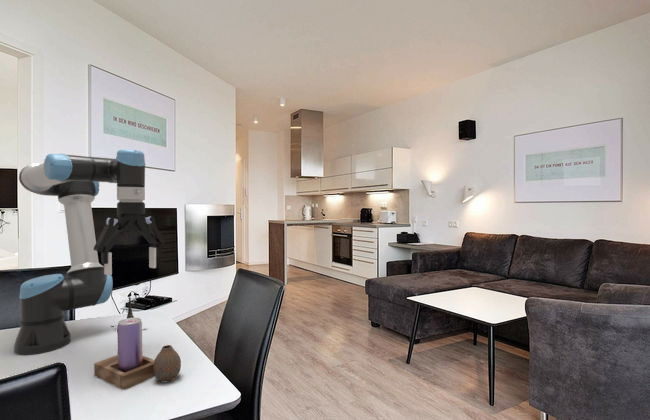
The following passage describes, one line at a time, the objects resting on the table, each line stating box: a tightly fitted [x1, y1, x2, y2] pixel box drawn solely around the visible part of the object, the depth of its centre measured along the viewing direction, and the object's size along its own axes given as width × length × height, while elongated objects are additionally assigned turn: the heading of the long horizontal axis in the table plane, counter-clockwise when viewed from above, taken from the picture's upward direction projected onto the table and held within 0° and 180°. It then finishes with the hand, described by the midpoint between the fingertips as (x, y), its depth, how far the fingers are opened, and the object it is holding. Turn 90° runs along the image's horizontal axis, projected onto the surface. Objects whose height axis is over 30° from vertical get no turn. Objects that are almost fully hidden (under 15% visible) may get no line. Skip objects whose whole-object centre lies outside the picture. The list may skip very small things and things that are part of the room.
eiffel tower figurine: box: [110, 296, 146, 331], centre depth 141 cm, size 15×10×13 cm
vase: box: [153, 344, 182, 383], centre depth 99 cm, size 7×7×9 cm
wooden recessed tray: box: [93, 354, 156, 390], centre depth 101 cm, size 15×10×4 cm, turn 58°
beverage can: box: [116, 317, 144, 373], centre depth 100 cm, size 6×6×15 cm
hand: (131, 271), depth 111 cm, fingers open, 13 cm apart
